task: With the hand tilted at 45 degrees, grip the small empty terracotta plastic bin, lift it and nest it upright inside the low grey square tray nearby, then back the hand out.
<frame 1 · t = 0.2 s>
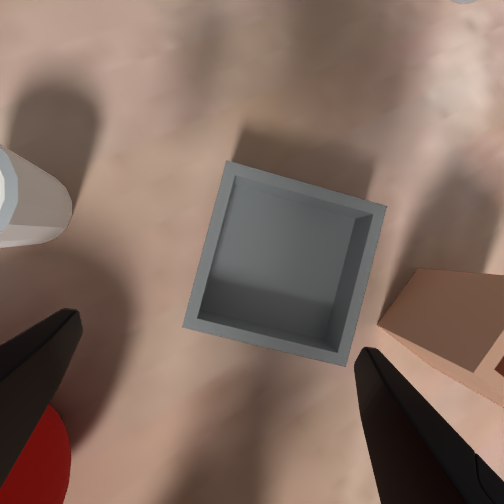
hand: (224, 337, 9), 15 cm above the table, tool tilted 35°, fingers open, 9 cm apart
white cylindrical piece: (36, 208, 23), on the table
ceramic cup: (6, 414, 23), on the table
terracotta bin: (424, 317, 25), on the table
grey square tray: (277, 262, 24), on the table
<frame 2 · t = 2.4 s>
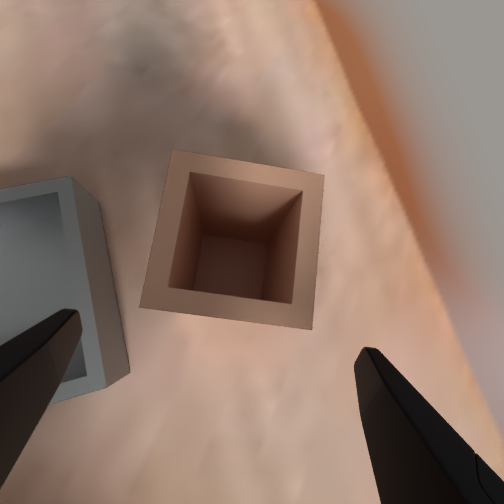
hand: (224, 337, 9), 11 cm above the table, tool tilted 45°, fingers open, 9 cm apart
terracotta bin: (230, 273, 21), on the table
grey square tray: (18, 306, 19), on the table
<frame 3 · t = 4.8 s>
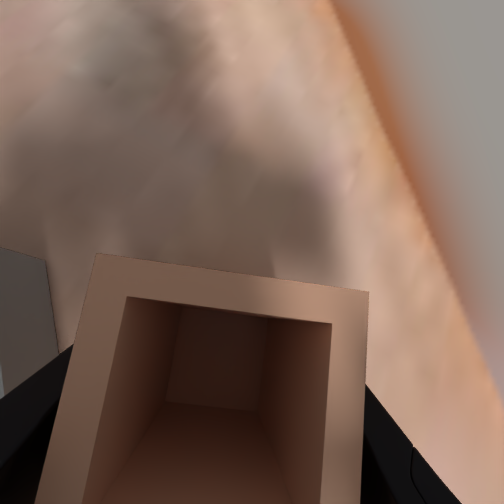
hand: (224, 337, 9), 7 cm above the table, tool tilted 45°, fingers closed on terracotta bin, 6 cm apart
terracotta bin: (219, 355, 16), on the table, touching gripper
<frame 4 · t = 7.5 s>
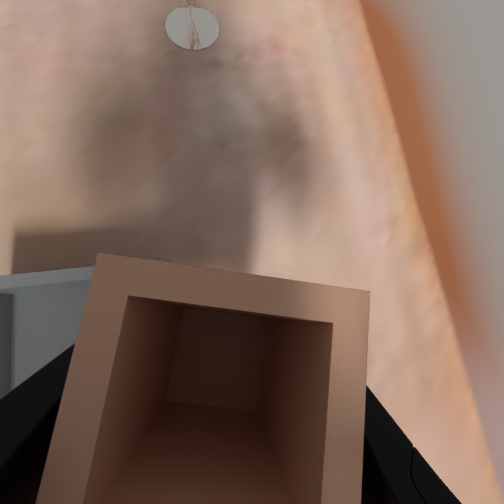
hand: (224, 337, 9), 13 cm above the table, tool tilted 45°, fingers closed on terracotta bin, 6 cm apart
wineglass: (192, 28, 28), on the table
terracotta bin: (219, 354, 16), point 7 cm above the table, touching gripper
grey square tray: (96, 357, 21), on the table
when the fingers open (9 cm above the table, at t = 10.4 s): terracotta bin drops 2 cm, resting on grey square tray.
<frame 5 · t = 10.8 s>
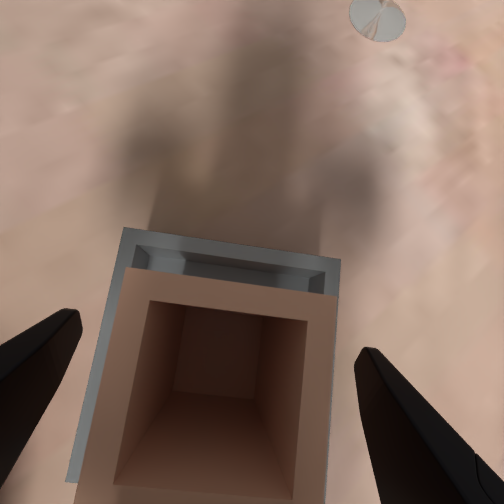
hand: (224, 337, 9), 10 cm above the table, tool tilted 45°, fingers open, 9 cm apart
wineglass: (376, 19, 25), on the table
terracotta bin: (219, 350, 18), point 1 cm above the table, touching grey square tray
grey square tray: (219, 348, 18), on the table
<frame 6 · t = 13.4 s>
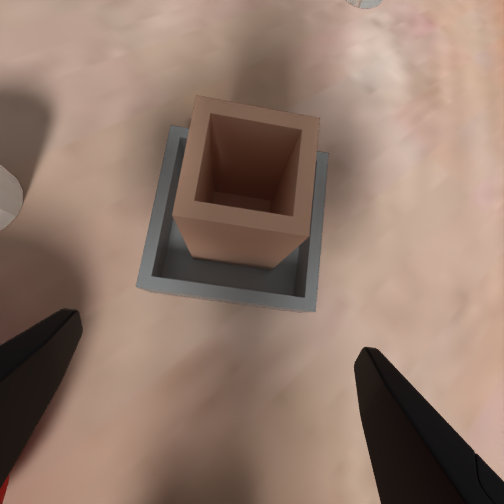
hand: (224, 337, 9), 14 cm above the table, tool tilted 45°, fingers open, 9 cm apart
terracotta bin: (238, 227, 23), point 1 cm above the table, touching grey square tray
grey square tray: (236, 230, 24), on the table
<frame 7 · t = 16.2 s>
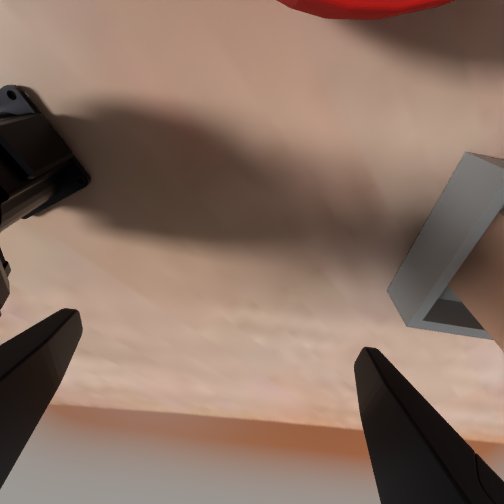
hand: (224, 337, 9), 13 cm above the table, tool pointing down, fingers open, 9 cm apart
terracotta bin: (501, 252, 22), point 1 cm above the table, touching grey square tray
grey square tray: (492, 244, 22), on the table
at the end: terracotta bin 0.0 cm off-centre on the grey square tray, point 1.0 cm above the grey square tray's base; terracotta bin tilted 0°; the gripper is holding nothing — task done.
